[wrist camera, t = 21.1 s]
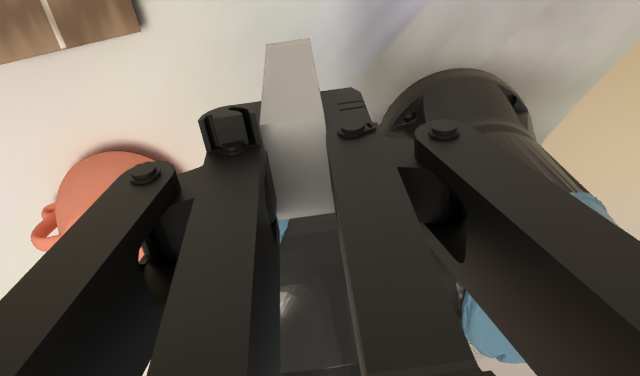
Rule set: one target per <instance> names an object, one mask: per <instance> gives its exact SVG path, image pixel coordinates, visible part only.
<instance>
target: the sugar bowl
mask: <svg viewBox="0 0 640 376" xmlns="http://www.w3.org/2000/svg"><path fill="white" fill-rule="evenodd" d="M148 161H151V162H154V160H152V159H150V158H148V157H145V156H142V155H139V154H135V153H130V152H123V151H111V152H103V153H98V154H95V155H92V156H89V157H87V158H85V159H83V160H81V161H79V162H78V163H76V164H75V165H74V166H73V167H72V168H71V169H70V170H69V171H68V173H67V174H66V176H65V177H64V179H63V180H62V183H61V185H60V187H59V190H58V194H57V198H56V203H53V204H50V205H47V206H46V207H45V208H44V209H43V210H42V218H43V221H42V222H40V223H39V224H38V225H37V226H36V227H35V229H34V230H33V231H32V234H31V241H32V243H33V245H34V246H35V247H36V248H37V249H39V250H41V251H45V252H47V251H48V250H49V249H50V248H51V247H52V246H53V245H54V244H55V243H56V242H57V241H58V240H59V239H60V238H61V237H62V236H63V235H64V233H65V232H66V231H67V230H68V229H69V228H70V227H71V226H72V225H73V224H74V223H75V222H76V221H77V220H78V219H79V218H80V217H81V216H82V215H83V214H84V213H85V212H86V210H87V209H88V208H89V207H90V206H91V205H92V204H93V203H94V202H95V201H96V200H97V199H98V198H99V197H100V196H101V195H102V194H103V193H104V192H105V191H106V190H107V189H108V187H109V186H110V185H111V184H112V183H113V182H114V181H115V180H116V179H117V178H118V177H119V176H120V175H121V174H123V173H124V172H125V171H127V170H128V169H131V168H133V167H134V166H135V165H137V164H140V163H142V164H143V162H148ZM56 227H58V231H59V235H56V236H52V237H47V236H48V235H49V234H50V233H51V232H52V231H53V230H54V229H55V228H56ZM143 255H144V253H143V250H142V248H140V250H139V259H138V260H139V261H140V260H141V258H142V257H143Z"/></svg>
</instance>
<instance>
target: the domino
mask: <svg viewBox="0 0 640 376" xmlns="http://www.w3.org/2000/svg"><path fill="white" fill-rule="evenodd" d="M140 31H141V29H140V26H139V23H138V20H137V17H136V14H135V11H134V8H133V5H132V2H131V0H0V65H1V64H5V63H9V62H14V61H18V60H22V59H26V58H30V57H35V56H39V55H43V54H47V53H52V52H56V51H60V50H64V49H68V48H73V47H77V46H81V45H85V44H89V43H94V42H98V41H102V40H106V39H110V38H115V37H119V36H123V35H127V34H131V33H136V32H140Z"/></svg>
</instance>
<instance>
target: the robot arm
mask: <svg viewBox="0 0 640 376" xmlns="http://www.w3.org/2000/svg"><path fill="white" fill-rule="evenodd" d="M198 123H199V126H200V130H201V133H202V137H203V141H204V144H205V148H206V151H207V153H206V157H205V161H204V164H203V166H201V167H199V168H196V169H193V170H191V171H187V172H184V173H181V174H178V175H177V174H176V171H175V168H174V166H173V165H172V164H171V163H169V162H164V161H154V162H151V161H148V162H143V164H142V163H140V164H137V165H135V166H134V167H133V168H131V169H128V170H127V171H125V172H124V173H123V174H121V175H120V176H119V177H118V178H117V179H116V180H115V181H114V182H113V183H112V184H111V185H110V186H109V187H108V189H107V190H106V191H105V192H104V193H103V194H102V195H101V196H100V197H99V198H98V199H97V200H96V201H95V202H94V203H93V204H92V205H91V206H90V207H89V208H88V209H87V210H86V212H85V213H84V214H83V215H82V216H81V217H80V218H79V219H78V220H77V221H76V222H75V223H74V224H73V225H72V226H71V227H70V228H69V229H68V230H67V231H66V232H65V233H64V235H63V236H62V237H61V238H60V239H59V240H58V241H57V242H56V243H55V244H54V245H53V246H52V247H51V248H50V249H49V250H48V251H47V252H46V253H45V254H44V255H43V256H42V258H41V259H40V260H39V261H38V262H37V263H36V264H35V265H34V266H33V267H32V268H31V269H30V270H29V271H28V272H27V273H26V274H25V275H24V276H23V277H22V278H21V280H20V281H19V282H18V283H17V284H16V285H15V286H14V287H13V288H12V289H11V290H10V291H9V292H8V293H7V294H6V295H5V296H4V297H3V298H2V299H1V300H0V376H142V375H143V373H144V371H145V369H146V367H147V365H148V364H149V362H150V365H149V369H148V372H147V376H495V374H494V373H493V372H492V371H484V372H483V371H481V369H480V368H479V367H478V365H477V363H476V361H475V358H474V356H473V353H472V351H471V348H470V346H469V344H468V341H469V342H470V344H472V345H473V346H474V347H475V348H476V349H477V350H478V351H479V352H480V353H482V354H483V355H484V356H486V357H489V358H495V357H496V359H497V360H498V361H500V362H504V363H527V364H528V365H529V366H530V368H531V369H532V370H533V371H534V372H535V374H536V375H537V376H640V241H638V240H637V239H636V238H634V237H633V236H631V235H630V234H628V233H627V232H625V231H624V230H623V229H621V228H620V227H618V225H617V224H616V223H615V222H614V221H613V219H612V218H611V217H610V216H609V214H608V213H607V210H606V208H605V206H604V205H603V204H602V202H601V201H599V200H598V199H597V198H596V197H594V196H593V195H591V194H590V193H589V192H588V191H587V190H586V189H585V188H584V187H583V186H582V185H581V184H580V183H579V182H578V181H577V180H576V179H575V178H574V177H572V176H571V174H569V173H568V172H567V171H566V170H565V169H564V168H563V167H562V166H561V165H560V164H559V163H558V162H557V161H556V160H555V159H554V158H553V157H552V156H551V155H550V154H548V153H547V152H546V151H545V150H544V149H543V148H542V147H541V146H540V145H539V144H538V143H537V142H536V138H535V134H534V129H533V125H532V121H531V117H530V114H529V112H528V109H527V107H526V106H525V104H524V102H523V101H522V99H521V98H520V97H519V95H518V94H517V93H516V92H515V91H514V90H512V89H511V88H510V87H509V86H508V85H507V84H506V83H505V82H503V81H502V80H501V79H499V78H497V77H496V76H494V75H491V74H489V73H486V72H483V71H479V70H474V69H452V70H446V71H442V72H439V73H436V74H433V75H430V76H428V77H426V78H424V79H422V80H420V81H418V82H417V83H415V84H413V85H412V86H411V87H409V88H408V89H407V90H405V91H404V92H403V93H402V94H401V95H400V96H399V97H398V98H397V99H396V100H395V101H394V103H393V104H392V105H391V106H390V108H389V109H388V111H387V113H386V114H385V116H384V118H383V120H382V122H381V125H380V126H379V125H378V124H377V123H374V122H372V121H371V118H370V116H369V113H368V111H367V108H366V105H365V103H364V101H363V98H362V95H361V93H360V92H358V91H357V90H355V89H353V88H352V87H350V88H343V89H336V90H328V91H321V92H320V91H319V85H318V80H317V75H316V70H315V64H314V59H313V54H312V49H311V44H310V38H309V39H302V40H294V41H287V42H280V43H273V44H266V56H265V67H264V79H263V91H262V101H259V102H252V103H245V104H238V105H229V106H224V107H219V108H216V109H214V110H211V111H209V112H207V113H205V114H204V115H202V116H201V117H200V119H199V120H198ZM140 248H142V250H143V253H144V255H143V257H142V258H141V260H140V261H139V260H138V259H139V250H140ZM465 335H466V336H465ZM466 338H467V339H466ZM467 340H468V341H467ZM150 360H151V361H150Z"/></svg>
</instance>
